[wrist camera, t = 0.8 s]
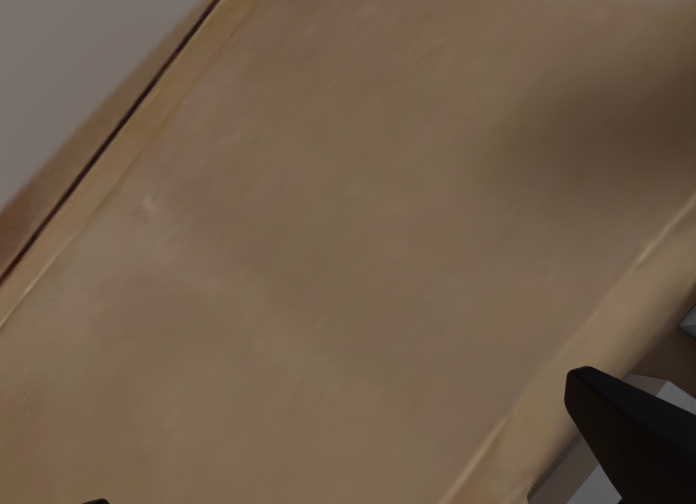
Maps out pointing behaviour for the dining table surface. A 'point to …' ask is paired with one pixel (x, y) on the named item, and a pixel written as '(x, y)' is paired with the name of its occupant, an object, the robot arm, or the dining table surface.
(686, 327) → the grey flat frame
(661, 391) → the block with square hole
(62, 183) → the dining table surface
